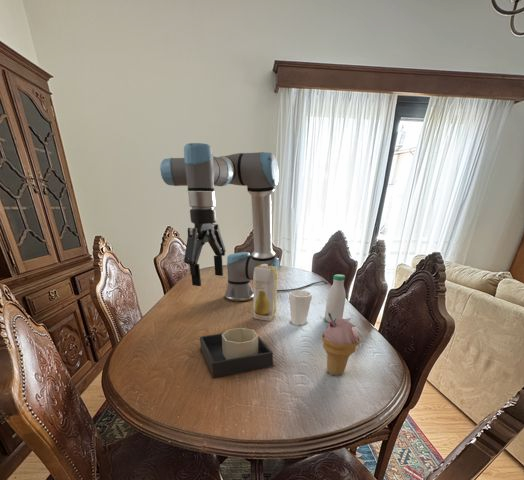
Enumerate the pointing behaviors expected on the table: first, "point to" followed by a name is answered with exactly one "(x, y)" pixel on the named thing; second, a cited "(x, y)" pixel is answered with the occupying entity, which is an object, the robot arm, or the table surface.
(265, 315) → the juice carton
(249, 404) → the table surface
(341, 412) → the table surface
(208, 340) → the tray
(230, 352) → the pot
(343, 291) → the milk bottle
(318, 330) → the table surface
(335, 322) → the ice cream cone
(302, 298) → the foam cup
